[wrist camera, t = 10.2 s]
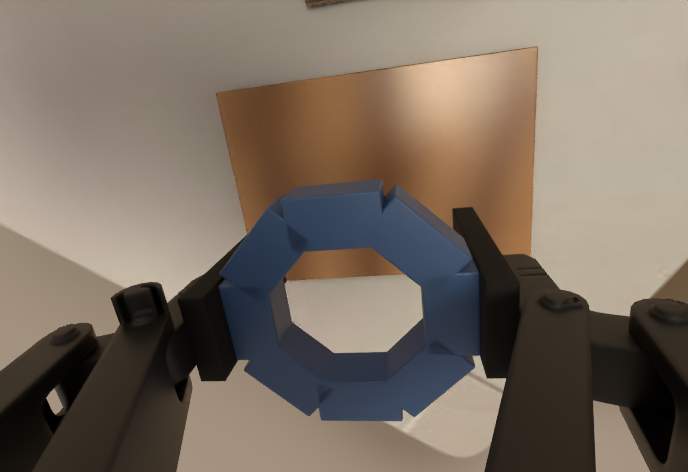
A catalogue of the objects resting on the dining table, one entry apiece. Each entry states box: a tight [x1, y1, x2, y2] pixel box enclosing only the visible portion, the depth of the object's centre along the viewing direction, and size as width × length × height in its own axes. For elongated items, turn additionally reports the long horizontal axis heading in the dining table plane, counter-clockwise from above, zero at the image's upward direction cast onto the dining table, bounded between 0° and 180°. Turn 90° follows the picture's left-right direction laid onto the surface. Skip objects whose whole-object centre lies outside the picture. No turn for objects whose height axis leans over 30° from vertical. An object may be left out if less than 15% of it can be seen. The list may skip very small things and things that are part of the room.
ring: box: [218, 179, 480, 421], centre depth 12 cm, size 7×7×2 cm
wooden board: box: [216, 47, 538, 280], centre depth 27 cm, size 20×14×1 cm
